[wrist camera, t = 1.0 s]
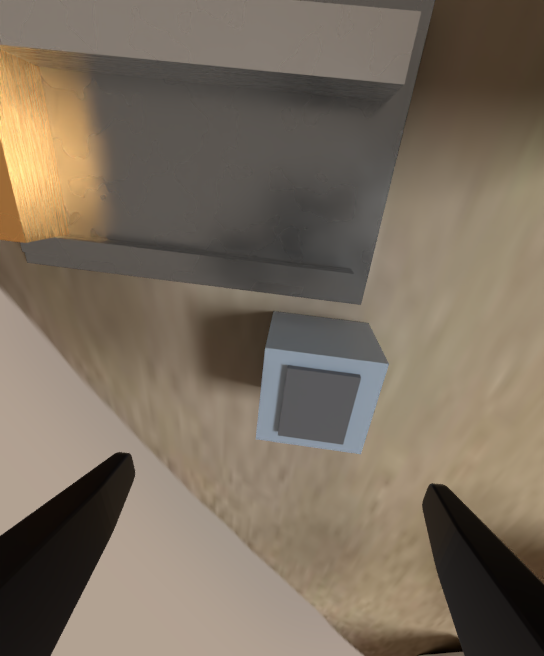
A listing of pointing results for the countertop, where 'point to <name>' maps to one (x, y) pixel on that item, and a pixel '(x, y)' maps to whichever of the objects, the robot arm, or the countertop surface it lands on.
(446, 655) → the electrical switch box
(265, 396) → the block
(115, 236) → the rail plate
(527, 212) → the countertop surface
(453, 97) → the countertop surface
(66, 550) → the robot arm
